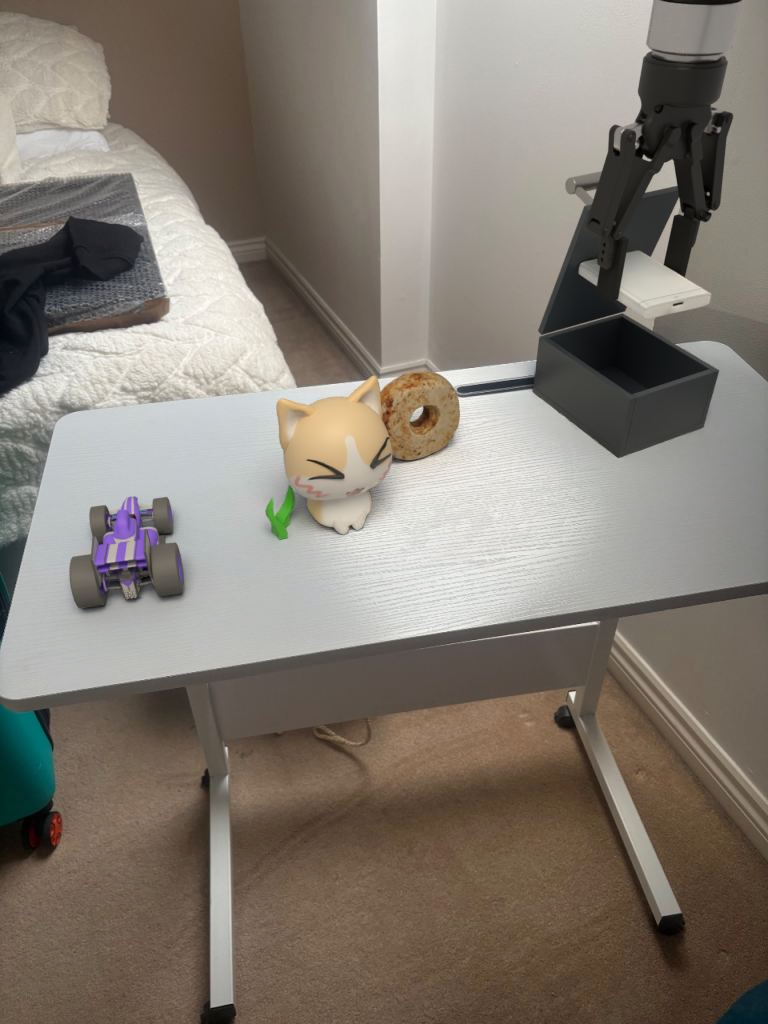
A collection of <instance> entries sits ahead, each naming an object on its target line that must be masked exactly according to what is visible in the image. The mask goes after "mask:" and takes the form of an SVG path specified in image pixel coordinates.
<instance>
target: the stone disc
mask: <svg viewBox="0 0 768 1024" xmlns="http://www.w3.org/2000/svg"><path fill="white" fill-rule="evenodd" d="M380 396H381V406H382V421H383V423H384V425H385V427H386V429H387V432H388V435H389V437H390V443H391V448H392V458H395V459H398V460H403V461H414V460H419V459H422V458H426V457H427V456H430V455H433V454H434V453H437V452H438V451H440V450H441V449H443V448H444V447H446V445H448V443H449V442H450V441H451V440H452V439H453V437H454V436H455V433H456V432H457V430H458V428H459V425H460V419H461V418H460V417H461V409H460V407H461V405H460V400H459V395H458V393H457V390H456V389H455V387H454V386H453V385H452V383H451V382H450V381H449V380H448V379H447V378H446V377H445V376H443V375H442V374H439V373H437V372H435V371H429V370H412V371H408V372H406V373H403V374H401V375H399V376H398V377H396V378H394V379H393V380H391V381H390V382H388V383H387V384H386V385H385V386H384V387H383V388H382V389H381V390H380ZM421 408H422V412H421V414H420V415H418V418H416V419H414V420H412V421H411V418H412V417H413V414H414V413H415V412H416V411H417V410H419V409H421Z"/></svg>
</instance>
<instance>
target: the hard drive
mask: <svg viewBox="0 0 768 1024" xmlns="http://www.w3.org/2000/svg"><path fill="white" fill-rule="evenodd" d="M599 270H600V266H599V265H598V263H597V259H594V260H589V261H585V262H582V263H581V264H580V266H579V274H580V275H581V276H583V277H584V278H585V279H587V280H588V281H590V282H591V283H593V284H594V285H596V286H597V282H598V276H599ZM711 298H712V293H711V292H709V291H708V290H706V289H705V288H703V287H701V286H700V285H698V284H697V283H695V282H693V281H691V280H690V279H688V278H686V276H685V277H683V276H681V275H680V274H678V273H676V272H675V271H673V270H671V269H670V268H668V267H666V266H665V265H664V263H661V262H660V261H658V260H656V259H654V258H653V257H652V256H651V257H650V256H648V255H646V254H644V253H643V252H641V251H633V252H627V253H626V258H625V264H624V269H623V275H622V280H621V286H620V291H619V297H618V299H616V300H618V301H619V302H621V303H622V304H624V305H625V306H627V309H628V308H629V309H630V310H631V311H633V312H634V313H635V314H637V315H638V316H640V317H642V318H643V319H645V320H650V319H654V318H658V317H664V316H667V315H673V314H676V313H681V312H684V311H689V310H694V309H699V308H702V307H706V306H707V305H709V304H710V303H711Z"/></svg>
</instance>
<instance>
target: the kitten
mask: <svg viewBox="0 0 768 1024" xmlns="http://www.w3.org/2000/svg"><path fill="white" fill-rule="evenodd" d="M379 381H380V380H379V378H378V377H377V375H371V376H370V377H369V378H367V379H366V380H365V381H364V382H363V383H362V384H361V385H359V386H358V387H357V388H356V389H354V390H353V391H351V393H350V394H349V395H348V396H330V397H323V398H321V399H318V400H316V401H314V402H311V403H310V404H305V403H301V402H297V401H293V400H290V399H287V398H285V397H281V398H279V399H278V400H277V401H276V406H275V409H276V416H277V423H278V440H279V441H278V442H279V444H280V447H281V449H282V451H283V454H282V455H283V466H284V471H285V475H286V478H287V481H288V483H289V485H288V486H287V491H286V493H285V497H284V500H283V503H282V505H281V506H280V508H279V509H278V511H277V512H276V514H275V511H274V496H272V497H271V499H270V500H269V501H268V504H267V505H266V508H265V510H264V511H265V516H266V518H267V519H268V520H269V522H270V526H271V532H272V533H273V534H274V535H275V536H276V537H277V538H278V540H283V539H288V537H289V536H288V530H287V527H288V526H289V525H291V521H290V517H291V516H292V513H293V511H294V510H295V504H296V497H295V493H297V494H298V495H300V496H301V497H303V498H305V499H306V506H307V510H308V511H309V513H310V514H311V516H312V517H313V518H314V520H315V521H316V522H317V523H319V524H321V525H322V526H325V527H328V528H334V530H335V531H336V532H337V533H339V534H341V535H346V534H347V533H348V532H349V529H350V526H351V527H352V528H353V529H354V530H356V531H358V530H359V531H360V530H361V529H362V528H363V527H364V524H365V522H366V518H367V516H368V514H369V513H370V512H371V509H372V497H371V494H370V492H369V490H371V489H372V488H374V487H376V486H377V485H378V484H380V483H381V482H383V480H384V479H385V478H386V477H387V475H388V474H389V473H390V470H391V467H392V463H393V456H392V448H391V443H390V437H389V435H388V432H387V429H386V427H385V425H384V423H383V421H382V406H381V396H380V392H381V387H380V382H379Z"/></svg>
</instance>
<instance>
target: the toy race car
mask: <svg viewBox="0 0 768 1024" xmlns="http://www.w3.org/2000/svg"><path fill="white" fill-rule="evenodd" d="M88 515H89V516H88V517H89V526H90V527H89V528H90V532H91V536H92V539H91V547H90V548H91V549H90V553H89V554H82V555H74V556H72V557H71V559H70V562H69V570H68V571H69V574H68V575H69V585H70V591H71V594H72V598H73V601H74V603H75V605H76V607H77V608H78V609H85V608H92V607H101V606H104V605H106V602H107V599H108V598H107V597H108V591H109V590H121V591H122V592H121V593H122V596H123V598H124V600H130V599H137V598H139V597H140V590H141V586H145V585H149V584H152V585H153V586H154V590H155V593H156V595H157V596H158V597H167V596H173V595H179V594H183V593H184V590H185V578H184V569H183V568H184V567H183V563H182V562H183V561H182V556H181V551H180V548H179V545H178V544H177V542H176V541H175V542H168V543H167V542H166V540H165V539H166V537H165V536H166V535H165V534H172V533H173V531H174V517H173V511H172V506H171V501H170V499H169V498H168V496H163V497H155V498H153V499H152V503H151V504H148V505H140V504H139V498H138V496H136V495H133V496H127V497H126V498H125V499H124V501H123V502H122V504H121V507H120V508H117V509H109V508H108V506H107V505H106V504H101V505H95V506H90V508H89V513H88ZM142 516H143V517H142ZM142 520H145V521H142ZM151 522H153V524H154V527H153V526H144V525H143V524H145V523H151ZM143 526H144V527H143ZM99 543H102V544H99ZM107 573H108V575H107ZM144 577H145V578H146V577H149V578H150V581H145V582H142V579H143V578H144ZM109 582H119V586H109Z"/></svg>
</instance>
